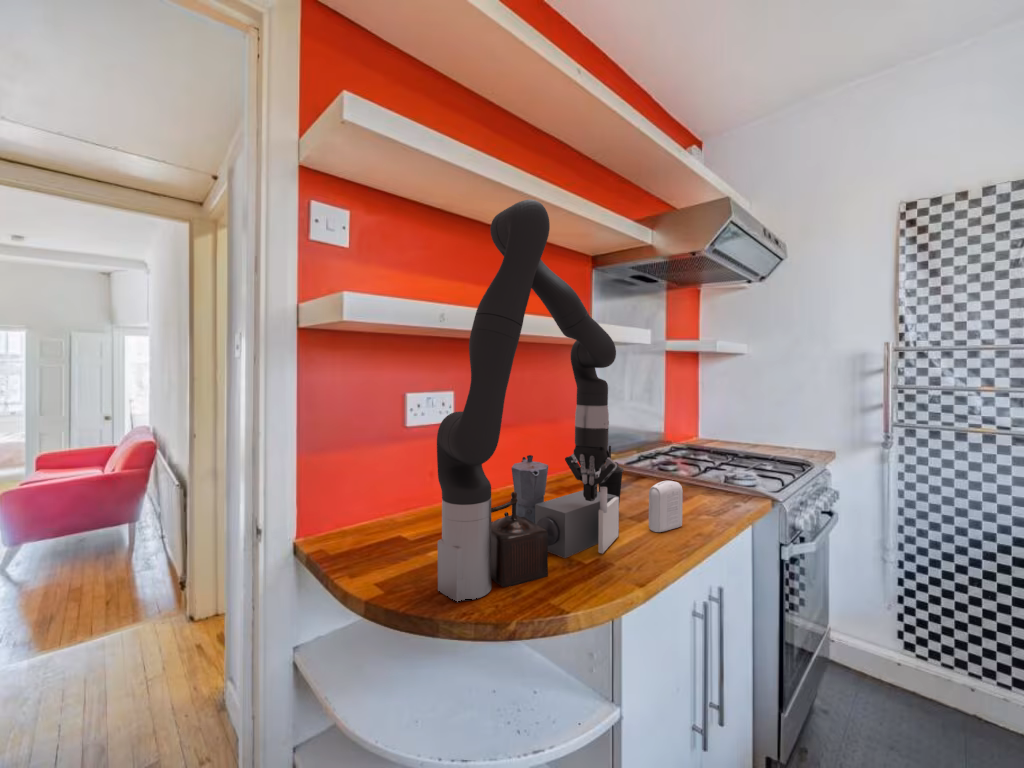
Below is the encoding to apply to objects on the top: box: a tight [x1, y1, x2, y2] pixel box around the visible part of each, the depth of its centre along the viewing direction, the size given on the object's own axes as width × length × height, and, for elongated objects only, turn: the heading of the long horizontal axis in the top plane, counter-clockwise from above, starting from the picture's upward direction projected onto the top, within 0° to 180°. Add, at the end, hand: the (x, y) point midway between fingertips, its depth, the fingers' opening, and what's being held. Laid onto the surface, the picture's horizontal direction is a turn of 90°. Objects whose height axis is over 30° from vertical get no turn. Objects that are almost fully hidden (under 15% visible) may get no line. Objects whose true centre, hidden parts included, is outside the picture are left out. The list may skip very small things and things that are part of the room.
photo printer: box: [648, 480, 684, 533], centre depth 116 cm, size 10×4×12 cm, turn 123°
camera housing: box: [535, 490, 616, 559], centre depth 106 cm, size 21×9×10 cm, turn 134°
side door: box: [597, 487, 620, 554], centre depth 104 cm, size 13×2×14 cm, turn 151°
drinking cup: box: [597, 445, 624, 504], centre depth 126 cm, size 8×8×20 cm
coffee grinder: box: [491, 491, 549, 588], centre depth 89 cm, size 16×11×18 cm
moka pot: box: [511, 454, 549, 523], centre depth 113 cm, size 10×15×20 cm, turn 15°
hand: (590, 500), depth 101 cm, fingers closed
